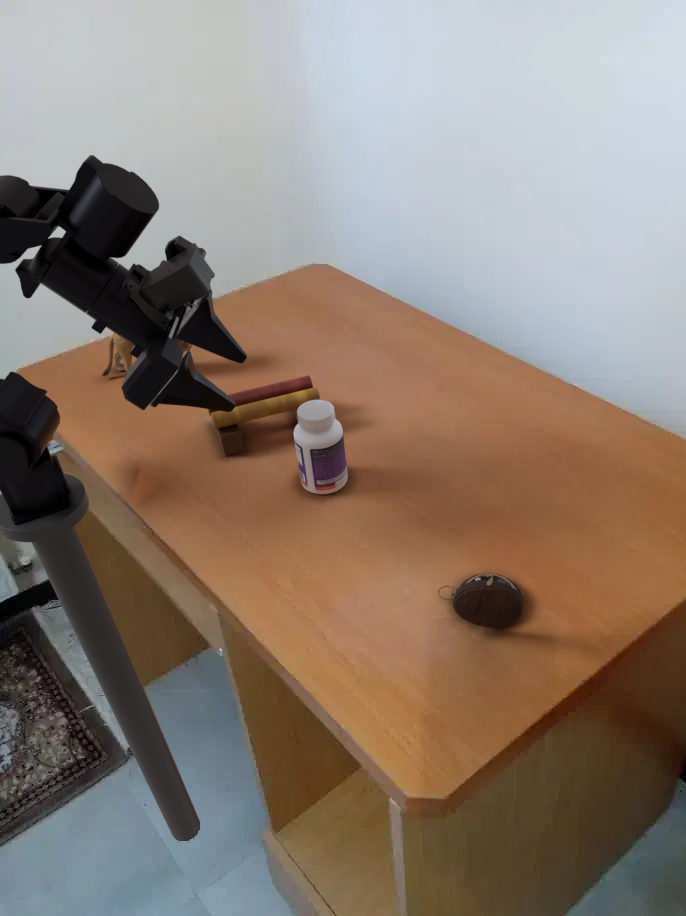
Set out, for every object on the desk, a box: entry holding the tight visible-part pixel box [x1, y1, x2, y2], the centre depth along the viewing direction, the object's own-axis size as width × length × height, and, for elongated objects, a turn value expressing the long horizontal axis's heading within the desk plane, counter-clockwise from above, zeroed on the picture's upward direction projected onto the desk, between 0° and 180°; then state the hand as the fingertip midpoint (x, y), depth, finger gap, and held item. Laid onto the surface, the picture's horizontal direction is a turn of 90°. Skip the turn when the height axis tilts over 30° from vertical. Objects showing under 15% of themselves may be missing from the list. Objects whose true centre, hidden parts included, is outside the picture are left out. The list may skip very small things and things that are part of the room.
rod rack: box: [207, 374, 321, 458], centre depth 97 cm, size 13×7×5 cm, turn 111°
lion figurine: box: [101, 332, 193, 377], centre depth 107 cm, size 15×5×9 cm, turn 103°
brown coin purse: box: [437, 572, 524, 628], centre depth 73 cm, size 8×8×7 cm
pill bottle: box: [293, 399, 349, 495], centre depth 87 cm, size 5×5×10 cm
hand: (239, 383), depth 82 cm, fingers open, 9 cm apart
